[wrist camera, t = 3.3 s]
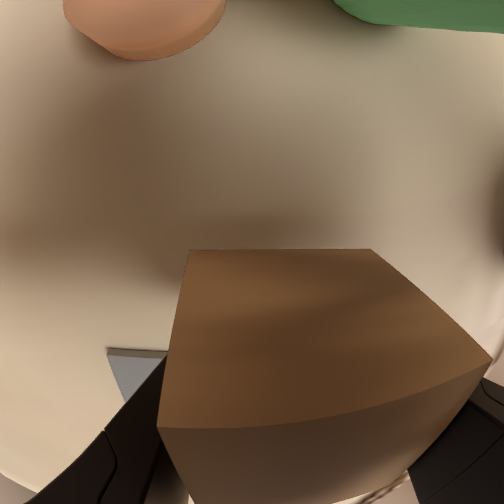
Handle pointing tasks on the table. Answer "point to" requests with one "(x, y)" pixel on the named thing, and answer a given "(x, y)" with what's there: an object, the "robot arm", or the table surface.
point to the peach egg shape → (144, 24)
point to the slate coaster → (132, 368)
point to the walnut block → (306, 375)
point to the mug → (431, 13)
